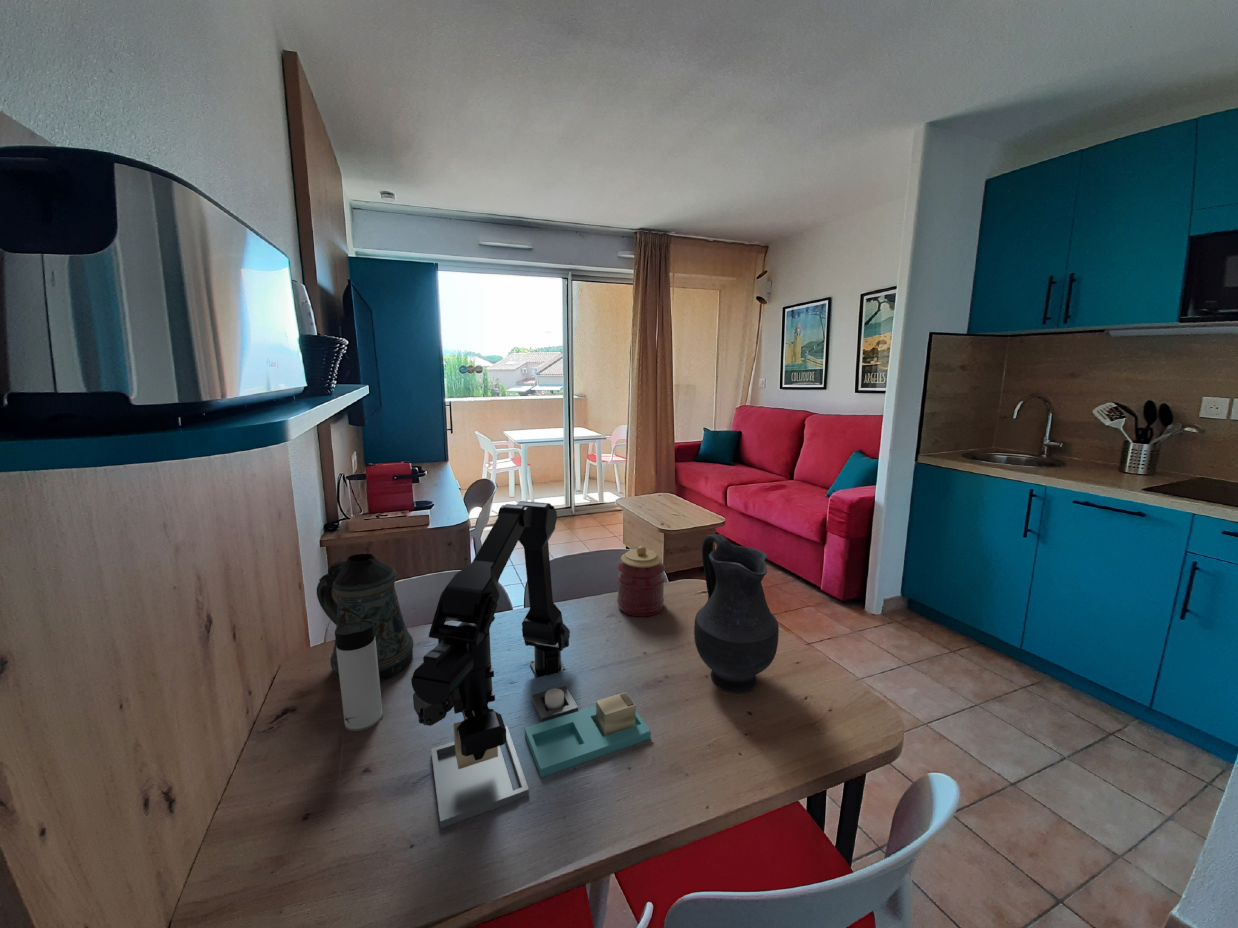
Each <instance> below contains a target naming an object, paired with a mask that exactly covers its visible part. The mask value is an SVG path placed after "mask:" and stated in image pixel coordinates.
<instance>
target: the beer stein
mask: <svg viewBox="0 0 1238 928" xmlns="http://www.w3.org/2000/svg"><path fill="white" fill-rule="evenodd" d="M397 572H398V571H397V570H396V569H395V568H394V567H392V565H389V564H387V563H385V562H383V561H379V560H378V559H376V558H375V556H373V554H372V553H356V554H352V555H350V556H348V558H347V560H345V561H344V560H343V561H342V560H341V561H337V562H334V563H333V564H331V565H330V566H329V568H328V569H327V573H326V574H324V575H323V576H322V577H320V578H319V579H318V581H319V582H318V583H317V586H316V597H317V601H318V603H319V605H320V607H321V609H322V611H323V612H324V613H325V615H326V616H327V617H328V619H329V620H330V621H331V622H332V623H333V624H334V625H335V630H336V629H337V628H338V627H340V626H342V625H344V624H347V623H349V624H351V623H355V622H360V621H362V620H369V621H372V622H373V623H374V633H375V640H376V649H377V660H378V670H379V681H380V682H384V681H386V680H389V679H392V678H393V677H395V676H396V675H398V674H400V673H401V672H403V671H405V669H406V668H407V667H408V666H409V665H410V663H411V662H412V661H413V660H414V651H413V648H414V644H415V643H414V639H413V637H412V635H411V634H410V632H409V631H408V627H407V626H406V623H405V620H404V617H403V614H402V609H401V605H400V603H399V599H398V594H397V591H396V588H395V587H396V586H395V583H396V581H397V575H398V573H397ZM333 590H334V592H333ZM334 593H335V594H336V595H337V599H336V597H335V595H334ZM330 656H331V657H330V667H331V670H332V672H333V674H334V677H335V679H336V681H338V682H340V678H339V669H338V660H337V651H336V639H335V638H334V645H333V650H332V653H331V655H330Z"/></svg>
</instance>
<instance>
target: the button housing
mask: <svg viewBox="0 0 1238 928" xmlns="http://www.w3.org/2000/svg"><path fill="white" fill-rule="evenodd" d="M554 689H560V690H562V691H563V692H564V707H561V708H558V709H554V710H551V711H547V710H546V708H545V693H546V692H547V691H548V690H546V691H542V692H539V693H535V694H532V695H531V703H532V707H533V708H534V710H535V713H536V714H537V717H538V719H539V721H540V722H539V723H542V722H545V721H548V720H551V719H555V718H558V717H561V716H564V715H568V714H571V713H574V712H577V711H579V706H578V705H577V703H576V702H575V701H576V700H574V697H573V695H572V694H571V692H570V691H569V688H568V687H567V686H566V685H563V686H559V687H556V688H554Z"/></svg>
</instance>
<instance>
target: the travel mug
mask: <svg viewBox="0 0 1238 928" xmlns="http://www.w3.org/2000/svg"><path fill="white" fill-rule="evenodd" d="M334 637H335V638H334V640H335V639H336V651H337V660H338V669H339V678H340V681H339V684H340V685H339V686H340V694H341V695H340V696H341V701H342V702H341V703H342V713H343V719H344V720H343V722H344V729H345V730H348V731H351V732H360V731H366V730H368V729H370V728H372V727H374V726H375V725H377V724H378V723H379V722H380V721H382V720H383V716H384V713H383V705H382V693H381V683H380V681H379V670H378V660H377V649H376V640H375V633H374V623H373V622H372V621H369V620H362V621H360V622H355V623H351V624H349V623H347V624H344V625H342V626H340V627H338V628H337V629H336V628H335V630H334Z"/></svg>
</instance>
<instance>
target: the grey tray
mask: <svg viewBox="0 0 1238 928" xmlns="http://www.w3.org/2000/svg"><path fill="white" fill-rule="evenodd" d="M505 728H506V742H505V744H506V747H507V749H508V752H509V756H510V759H511V761H512V765H513V768H514V771H515V775H516V777H517V781H518V783H519V786H520V787H519V788H515V789H514V786H513V783H512V780H511V777H510V773H509V770H508V767H507V764H506V763H507V762H506V761H505V756H504V754H503V751H502V748H501V746H498V757H495V758H492V759H489V760H486V761H483V762H480V763H477V764H474V765H471V766H468V767H464V768H461V769H458V764H457V759H456V753H455V741H451V742H448V743H445V744H441V745H439V746H435V747H431V749H430V751H431V761H432V769H433V778H434V785H435V794H436V802H437V810H438V811H437V812H438V819H439V824H440V825H439V827H440V829H444V828H447V827H449V826H452V825H455V824H458V823H461V822H463V821H466V820H468V819H471V818H473V817H477V816H479V815H482V814H485V813H488V812H489V811H493V810H495V809H498V808H501V807H504V806H507V805H509V804H512V803H515V802H517V801H518V800H520V799H522V798H525V797H527V796H529V795H530V789H529V787H528V783H527V780H526V778H525V774H524V772H523V768H522V765H521V763H520V760H519V756H518V754H517V751H516V748H515V746H514V743H513V740H512V739H513V738H512V735H511V734H510V730H509V727H508V725H505Z"/></svg>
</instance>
